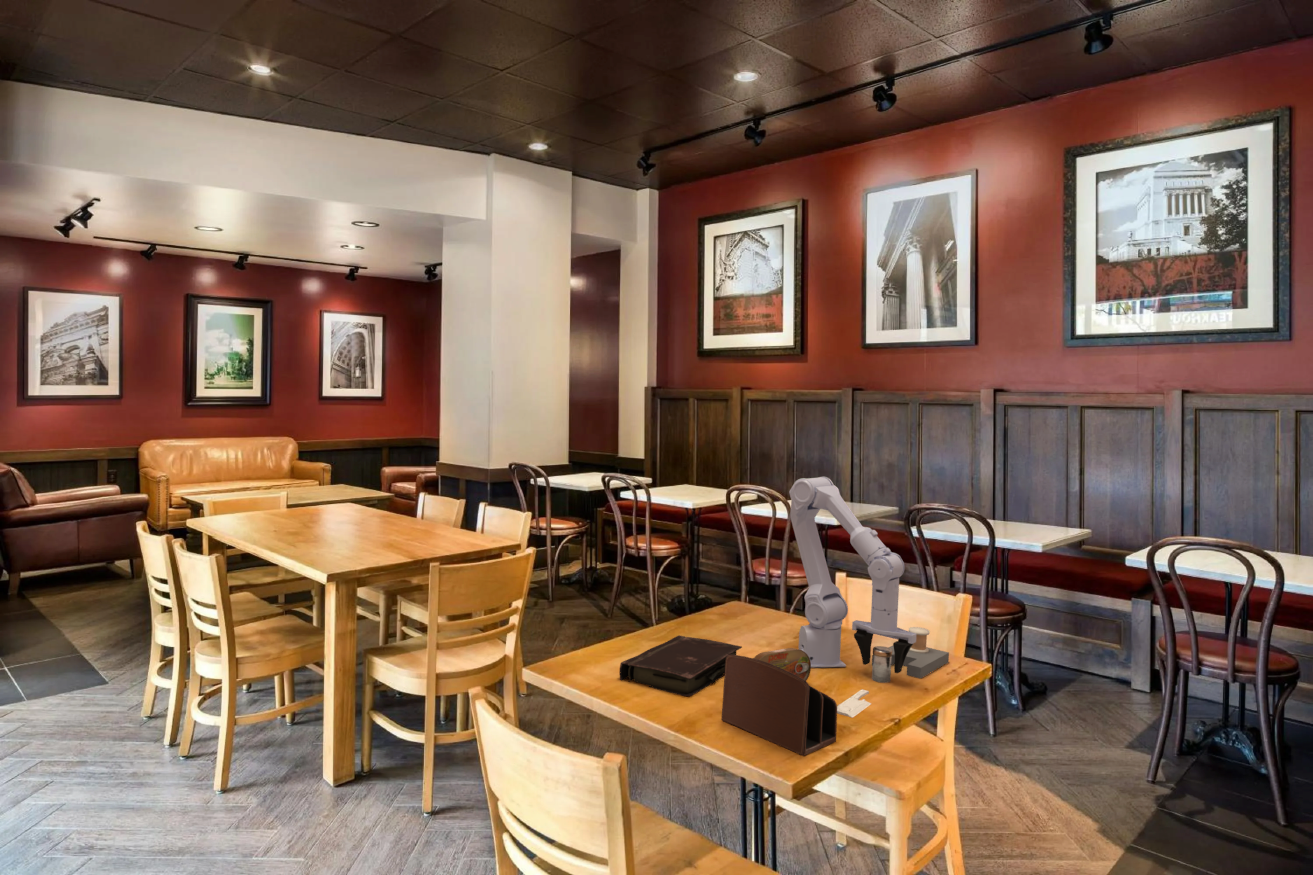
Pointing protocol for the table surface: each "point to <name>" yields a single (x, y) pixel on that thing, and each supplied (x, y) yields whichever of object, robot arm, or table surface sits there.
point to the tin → (788, 661)
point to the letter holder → (777, 705)
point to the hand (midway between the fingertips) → (881, 667)
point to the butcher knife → (853, 704)
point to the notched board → (921, 655)
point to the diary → (679, 665)
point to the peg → (881, 664)
